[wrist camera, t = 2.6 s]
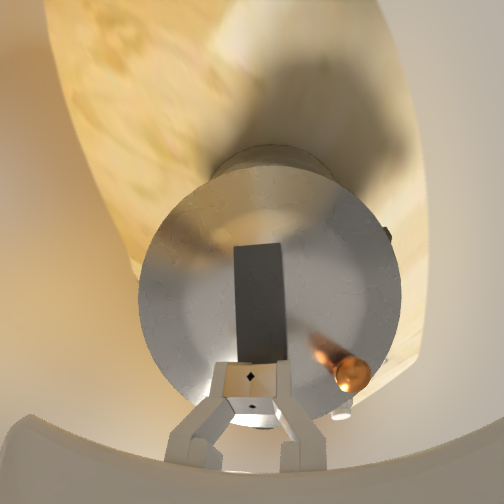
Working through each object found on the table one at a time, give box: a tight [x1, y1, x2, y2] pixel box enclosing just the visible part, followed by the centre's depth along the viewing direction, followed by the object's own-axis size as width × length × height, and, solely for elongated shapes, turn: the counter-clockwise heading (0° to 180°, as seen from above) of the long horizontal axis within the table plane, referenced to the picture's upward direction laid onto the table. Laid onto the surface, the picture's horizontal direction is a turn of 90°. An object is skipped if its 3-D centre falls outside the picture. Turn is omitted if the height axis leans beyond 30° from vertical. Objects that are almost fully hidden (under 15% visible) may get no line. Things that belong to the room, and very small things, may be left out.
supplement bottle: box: [331, 398, 353, 420], centre depth 49 cm, size 5×5×10 cm
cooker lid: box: [138, 166, 401, 428], centre depth 15 cm, size 16×16×4 cm
